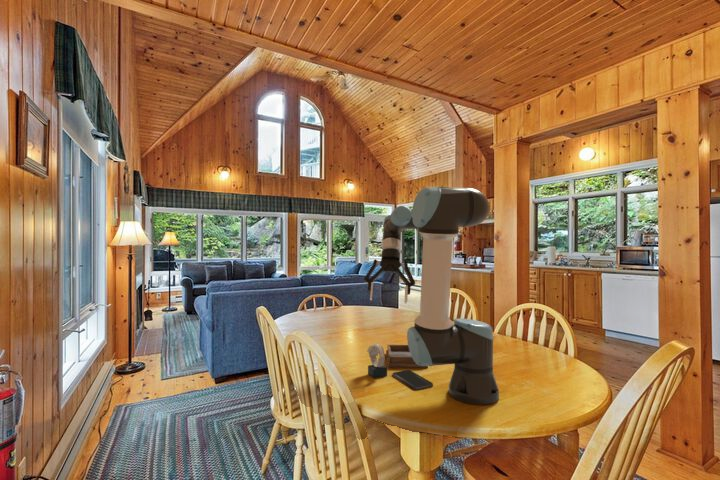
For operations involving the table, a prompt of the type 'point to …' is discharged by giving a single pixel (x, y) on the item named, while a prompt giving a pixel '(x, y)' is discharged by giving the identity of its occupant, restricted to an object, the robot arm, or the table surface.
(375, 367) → the watch
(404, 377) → the phone
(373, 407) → the table surface
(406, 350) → the walnut tray
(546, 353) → the table surface
